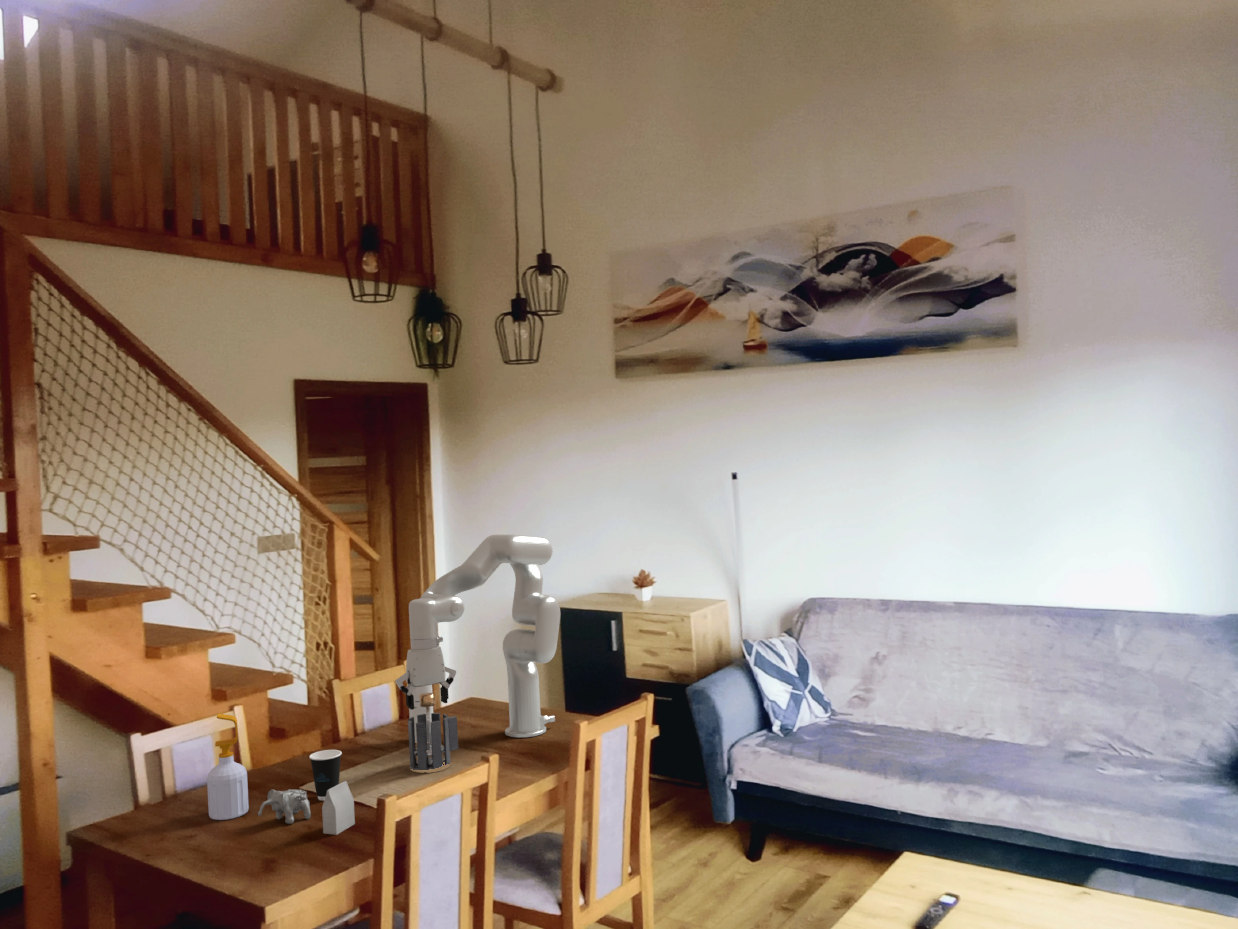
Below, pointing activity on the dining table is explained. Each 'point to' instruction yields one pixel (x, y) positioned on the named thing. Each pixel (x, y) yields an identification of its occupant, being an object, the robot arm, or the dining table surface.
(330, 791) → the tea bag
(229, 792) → the soap bottle
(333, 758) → the dixie cup
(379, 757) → the dining table surface
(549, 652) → the robot arm
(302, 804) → the gray elephant figurine
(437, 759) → the frame
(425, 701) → the plunger
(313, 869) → the dining table surface
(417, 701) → the cylindrical container
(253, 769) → the dining table surface
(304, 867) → the dining table surface
